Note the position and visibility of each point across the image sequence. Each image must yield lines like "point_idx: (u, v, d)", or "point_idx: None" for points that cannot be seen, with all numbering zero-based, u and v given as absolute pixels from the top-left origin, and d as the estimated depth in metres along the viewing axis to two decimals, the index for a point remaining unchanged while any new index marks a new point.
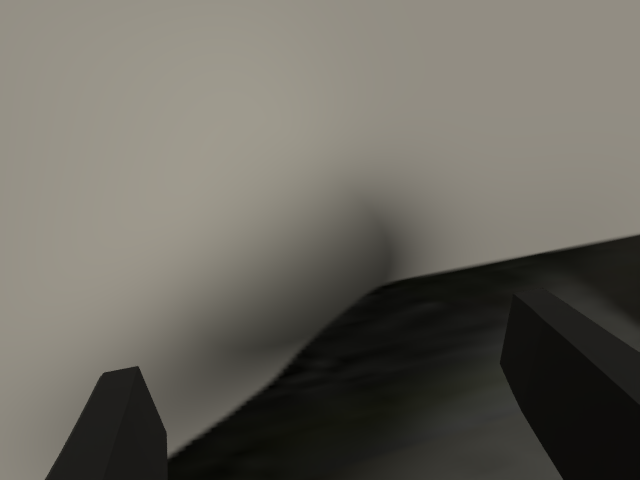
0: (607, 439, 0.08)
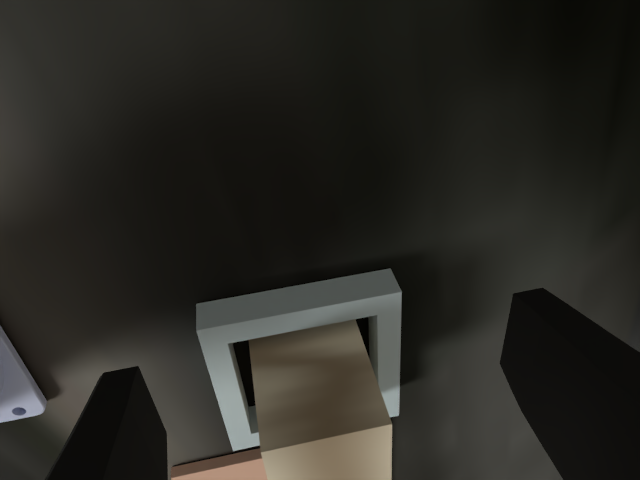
0: (607, 439, 0.08)
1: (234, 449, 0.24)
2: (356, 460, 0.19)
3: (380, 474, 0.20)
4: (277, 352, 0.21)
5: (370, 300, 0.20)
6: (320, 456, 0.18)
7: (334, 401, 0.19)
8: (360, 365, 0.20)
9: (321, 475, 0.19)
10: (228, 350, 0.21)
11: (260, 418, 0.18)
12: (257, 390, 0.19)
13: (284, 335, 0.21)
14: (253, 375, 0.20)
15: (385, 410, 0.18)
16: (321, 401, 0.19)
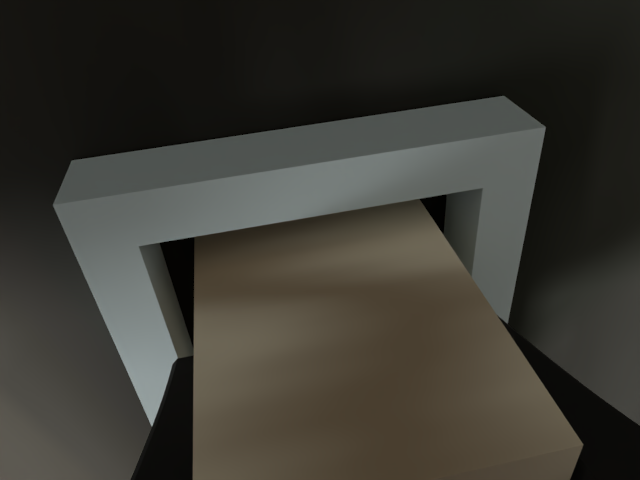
0: None
1: None
2: None
3: None
4: (257, 274, 0.09)
5: (472, 147, 0.09)
6: None
7: (405, 382, 0.07)
8: (456, 296, 0.08)
9: None
10: (142, 264, 0.09)
11: (202, 427, 0.07)
12: (202, 355, 0.08)
13: (274, 241, 0.10)
14: (196, 321, 0.08)
15: (552, 405, 0.06)
16: (367, 381, 0.07)
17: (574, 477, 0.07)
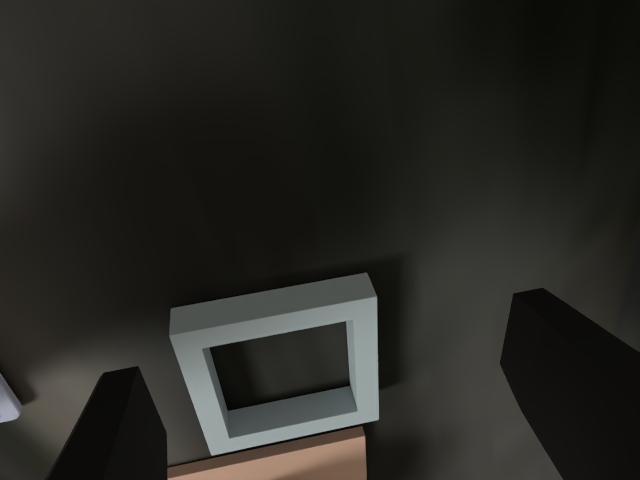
0: (607, 439, 0.08)
1: (212, 454, 0.24)
2: None
3: None
4: None
5: (345, 305, 0.20)
6: None
7: None
8: None
9: None
10: (202, 355, 0.20)
11: None
12: None
13: None
14: None
15: None
16: None
17: None
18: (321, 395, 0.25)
